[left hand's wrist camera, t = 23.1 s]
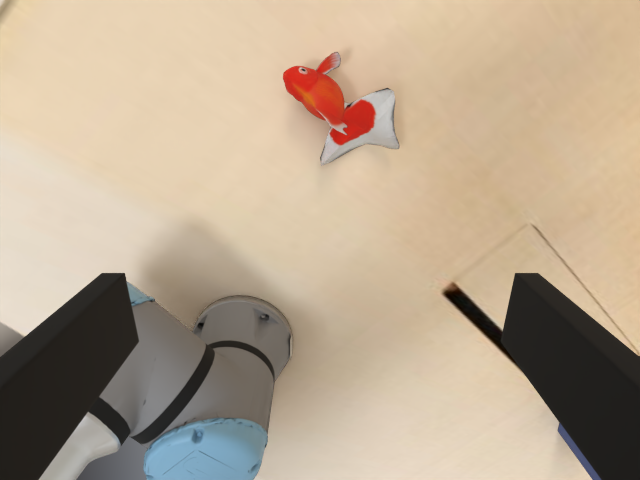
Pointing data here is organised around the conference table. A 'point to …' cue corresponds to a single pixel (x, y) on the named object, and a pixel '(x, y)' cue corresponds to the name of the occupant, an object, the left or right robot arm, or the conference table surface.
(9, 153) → the conference table surface
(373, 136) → the fish
